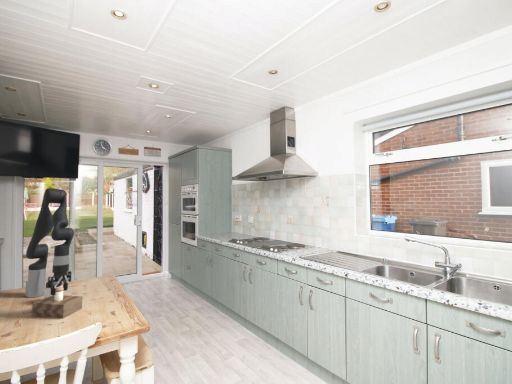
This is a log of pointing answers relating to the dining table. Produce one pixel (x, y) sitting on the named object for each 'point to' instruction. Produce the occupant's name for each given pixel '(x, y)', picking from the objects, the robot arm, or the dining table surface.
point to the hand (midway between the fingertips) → (59, 292)
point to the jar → (48, 290)
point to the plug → (59, 294)
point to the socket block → (56, 307)
